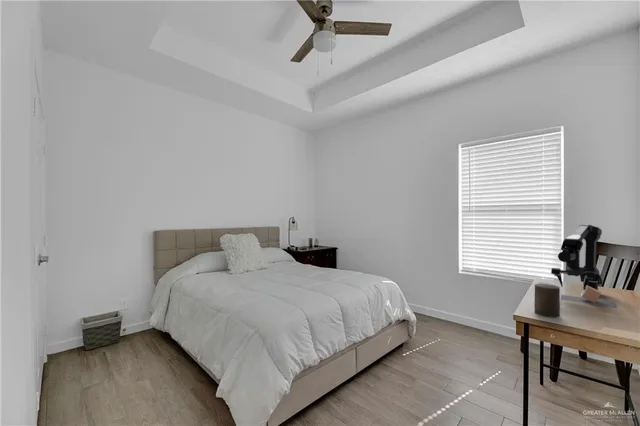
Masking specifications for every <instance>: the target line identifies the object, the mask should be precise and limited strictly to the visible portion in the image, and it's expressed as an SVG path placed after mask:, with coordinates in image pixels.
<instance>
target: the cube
mask: <svg viewBox="0 0 640 426" xmlns="http://www.w3.org/2000/svg"><path fill="white" fill-rule="evenodd" d="M601 294H602V292H601V291H600V290H599V289H598V290H596V289H594V288H592V287H589V286H587V285H586V287H585V290H583V289H582V292H581V293H580V297H582V298H585V299H587V300H589V301H591V302H593V303H596V301H597V300H599V298H600V296H601Z"/></svg>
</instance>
